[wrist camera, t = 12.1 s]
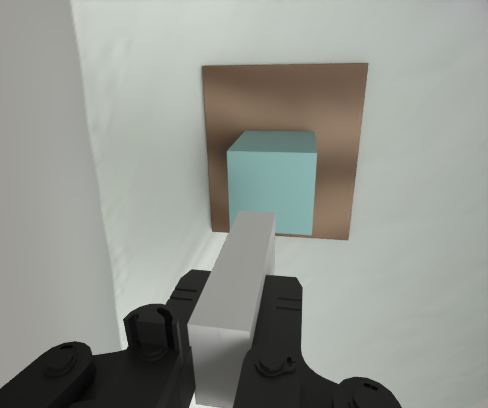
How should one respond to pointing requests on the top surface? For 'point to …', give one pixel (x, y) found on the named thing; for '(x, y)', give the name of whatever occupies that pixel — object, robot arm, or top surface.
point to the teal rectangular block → (274, 177)
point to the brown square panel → (289, 129)
